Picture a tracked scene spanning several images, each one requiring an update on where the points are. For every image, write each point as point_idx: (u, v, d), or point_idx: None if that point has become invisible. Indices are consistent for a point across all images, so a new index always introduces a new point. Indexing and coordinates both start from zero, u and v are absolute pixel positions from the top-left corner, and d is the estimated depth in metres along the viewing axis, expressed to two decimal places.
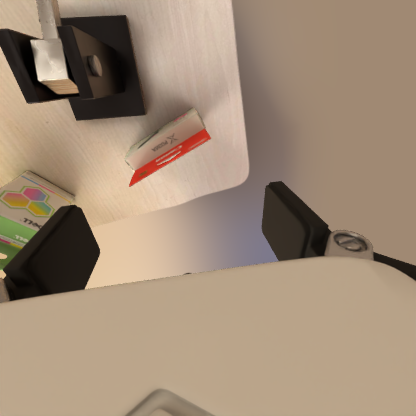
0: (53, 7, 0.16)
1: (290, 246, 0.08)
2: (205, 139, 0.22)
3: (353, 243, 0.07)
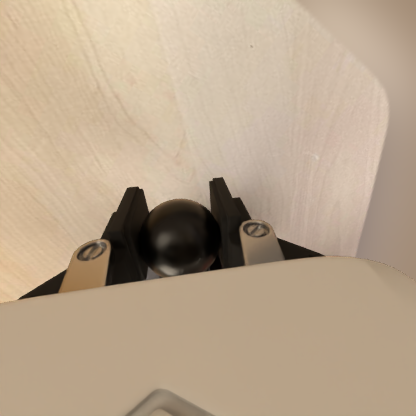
0: None
1: (220, 236, 0.09)
2: None
3: (258, 229, 0.08)
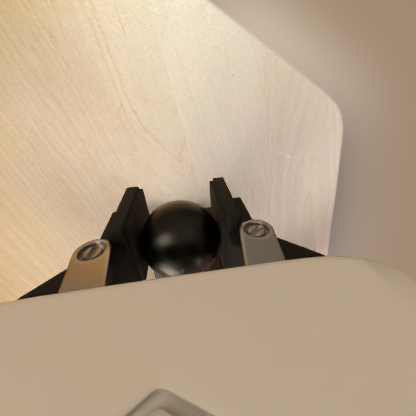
0: None
1: (220, 235, 0.09)
2: None
3: (258, 229, 0.08)
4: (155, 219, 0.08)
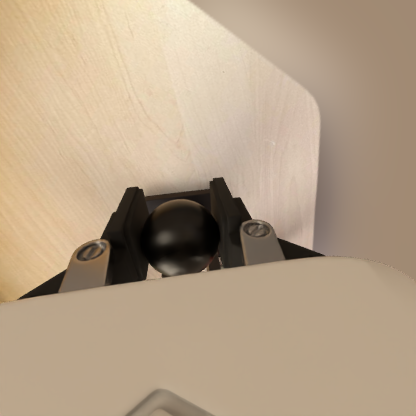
0: None
1: (220, 235, 0.09)
2: None
3: (258, 229, 0.08)
4: (155, 229, 0.08)
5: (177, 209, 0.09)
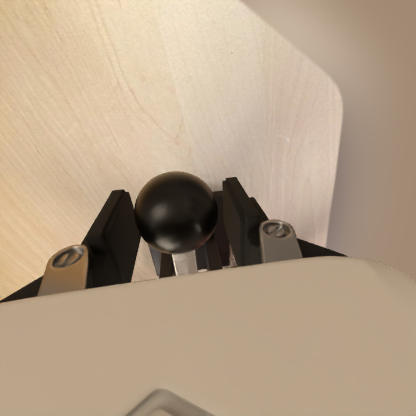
0: None
1: (236, 236, 0.09)
2: None
3: (279, 230, 0.08)
4: (149, 189, 0.08)
5: (172, 173, 0.08)
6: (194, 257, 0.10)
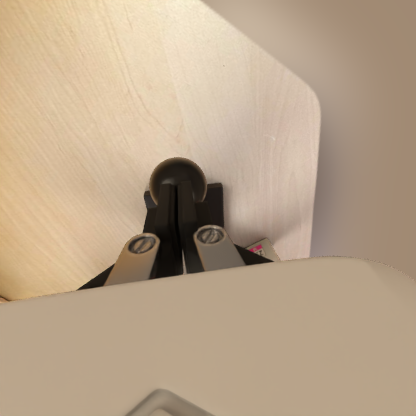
0: None
1: None
2: None
3: (212, 234, 0.08)
4: (160, 166, 0.12)
5: (175, 157, 0.13)
6: None
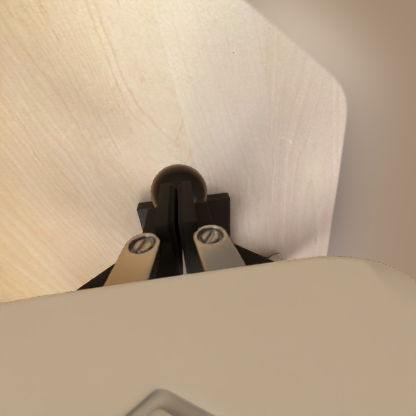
0: None
1: None
2: None
3: (212, 234, 0.08)
4: (162, 170, 0.13)
5: None
6: None
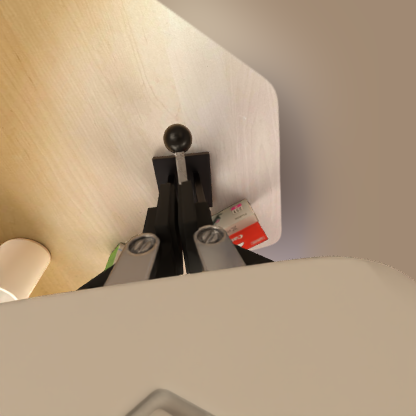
0: None
1: None
2: (263, 238, 0.33)
3: (212, 234, 0.08)
4: (169, 126, 0.25)
5: None
6: (184, 157, 0.26)
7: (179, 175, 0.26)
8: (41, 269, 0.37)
